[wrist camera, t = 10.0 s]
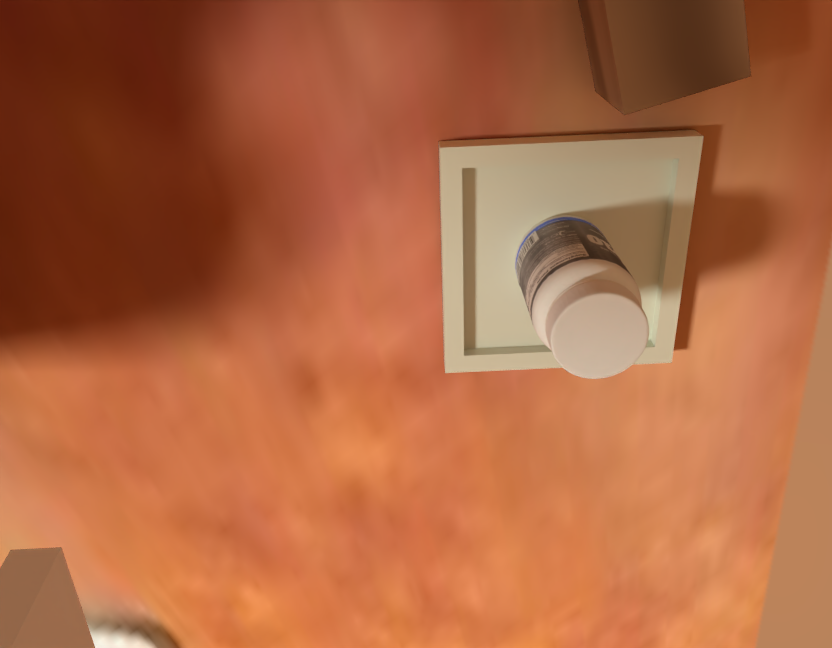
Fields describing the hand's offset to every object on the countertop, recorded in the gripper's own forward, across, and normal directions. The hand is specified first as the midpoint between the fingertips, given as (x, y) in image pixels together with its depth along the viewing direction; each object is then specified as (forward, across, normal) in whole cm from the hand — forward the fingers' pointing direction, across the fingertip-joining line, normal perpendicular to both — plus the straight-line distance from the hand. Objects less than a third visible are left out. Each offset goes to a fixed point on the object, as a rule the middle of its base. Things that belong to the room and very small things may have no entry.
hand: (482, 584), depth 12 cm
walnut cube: (+26, +10, +6) cm, 28 cm away
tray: (+26, +7, -5) cm, 27 cm away
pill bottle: (+26, +7, -5) cm, 27 cm away
